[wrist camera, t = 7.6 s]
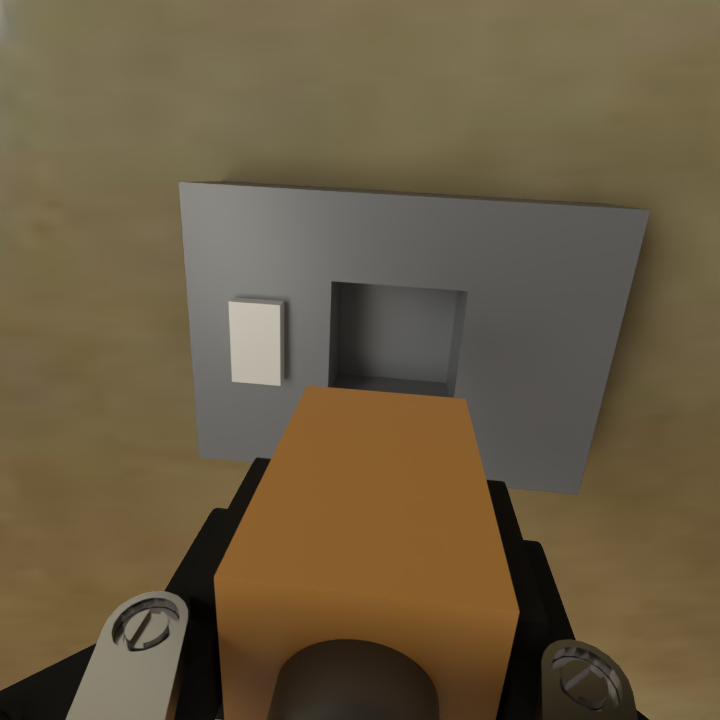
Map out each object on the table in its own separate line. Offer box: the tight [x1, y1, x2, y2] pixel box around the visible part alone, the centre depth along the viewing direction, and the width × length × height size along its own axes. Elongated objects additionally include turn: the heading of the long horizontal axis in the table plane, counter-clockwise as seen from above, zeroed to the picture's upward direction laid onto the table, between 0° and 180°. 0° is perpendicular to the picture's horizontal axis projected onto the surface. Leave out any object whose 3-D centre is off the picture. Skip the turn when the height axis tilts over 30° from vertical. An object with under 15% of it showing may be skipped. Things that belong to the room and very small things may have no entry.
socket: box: [179, 181, 650, 495], centre depth 25 cm, size 20×14×6 cm
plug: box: [214, 385, 520, 720], centre depth 10 cm, size 4×4×9 cm
